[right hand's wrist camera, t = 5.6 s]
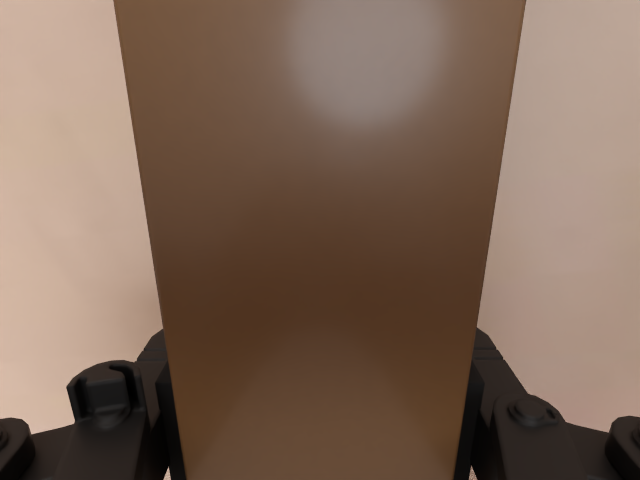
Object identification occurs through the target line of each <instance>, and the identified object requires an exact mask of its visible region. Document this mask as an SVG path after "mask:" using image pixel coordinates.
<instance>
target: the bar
mask: <svg viewBox="0 0 640 480" xmlns="http://www.w3.org/2000/svg"><path fill="white" fill-rule="evenodd" d="M113 1H114V7H115V14H116V20H117V27H118V34H119V40H120V47H121V53H122V60H123V66H124V73H125V80H126V86H127V93H128V99H129V106H130V113H131V119H132V126H133V132H134V139H135V145H136V152H137V159H138V165H139V172H140V178H141V185H142V192H143V198H144V205H145V211H146V218H147V224H148V231H149V238H150V244H151V251H152V257H153V264H154V271H155V277H156V284H157V290H158V297H159V303H160V310H161V317H162V323H163V330H164V336H165V343H166V350H167V356H168V363H169V369H170V376H171V382H172V389H173V396H174V402H175V409H176V415H177V422H178V429H179V435H180V442H181V448H182V455H183V461H184V468H185V475H186V480H453V479H454V472H455V466H456V459H457V452H458V446H459V439H460V433H461V426H462V419H463V413H464V406H465V400H466V393H467V386H468V380H469V373H470V367H471V360H472V353H473V347H474V340H475V334H476V327H477V320H478V314H479V307H480V300H481V294H482V287H483V281H484V274H485V267H486V261H487V254H488V248H489V241H490V234H491V228H492V221H493V215H494V208H495V201H496V195H497V188H498V182H499V175H500V168H501V162H502V155H503V149H504V142H505V135H506V129H507V122H508V116H509V109H510V102H511V96H512V89H513V83H514V76H515V69H516V63H517V56H518V50H519V43H520V36H521V30H522V23H523V17H524V10H525V3H526V0H113Z"/></svg>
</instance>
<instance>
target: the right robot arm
mask: <svg viewBox="0 0 640 480" xmlns="http://www.w3.org/2000/svg"><path fill="white" fill-rule="evenodd" d="M66 388H67V391H68V395H69V399H70V403H71V407H72V411H73V415H74V418H75V423H74V424H72V425H69V426H66V427H62V428H58V429H53V430H49V431H45V432H40V433H36V434H32V435H31V432H30V429H29V426H28V424H27V423H26V422H24V421H23V420H22V419H16V418H5V419H0V480H163V479H164V476H165V474H166V471H167V469H168V466H169V470H170V476H171V480H186V475H185V468H184V461H183V455H182V448H181V442H180V435H179V429H178V422H177V415H176V409H175V402H174V396H173V389H172V382H171V376H170V369H169V363H168V356H167V350H166V343H165V336H164V330H163V329H162V330H161V331H159V332H158V333H156V334H155V335H154V336H152V337H151V339H150V340H149V342H148V343H147V345H146V346H145V348H144V351H142V352H141V354H140V355H139V357H138V358H137V361H135V362H134V363H133V362H129V361H125V360H114V361H108V362H104V363H100V364H96V365H94V366H92V367H90V368H88V369H85V370H83V371H82V372H81V373H79V374H78V375H77V376H75V377H74V378H73V379H72V380H71V381H70V383H69V384H68V385H67V387H66ZM471 465H472V468H473V470H474V473H475V475H476V478H477V480H640V417H634V416H625V417H619V418H617V419H616V420H615V421H614V422H613V423H612V424H611V428H610V431H609V433H607V432H603V431H598V430H594V429H590V428H585V427H581V426H577V425H574V424H570V423H567V422H565V420H564V419H563V417H562V416H561V414H560V413H559V411H558V410H557V409H555V408H554V407H553V406H552V405H551V404H549V403H548V402H546V401H544V400H542V399H540V398H538V397H536V396H534V395H530V394H528V393H527V392H526V390H525V389H524V387H523V386H522V384H521V383H520V382H519V380H518V379H517V377H516V376H515V374H514V373H513V371H512V370H511V368H510V367H509V365H508V364H507V363H506V361H505V360H503V357H502V355H501V354H500V352H499V351H498V350H496V346H495V345H494V344H493V342H492V341H491V339H490V338H489V336H488V335H487V334H485V333H484V332H483V331H481V330H480V329H478V328H477V327H476V334H475V340H474V347H473V353H472V360H471V367H470V373H469V380H468V386H467V393H466V400H465V406H464V413H463V419H462V426H461V433H460V439H459V446H458V452H457V459H456V466H455V472H454V479H453V480H469V475H470V469H471Z"/></svg>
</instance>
